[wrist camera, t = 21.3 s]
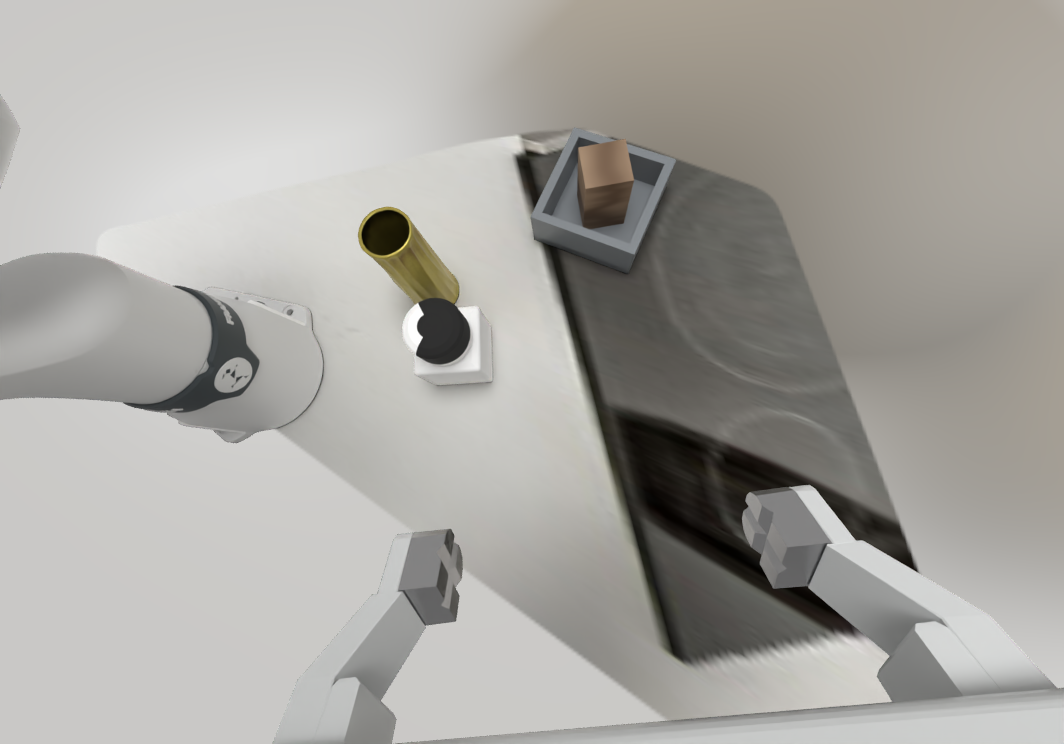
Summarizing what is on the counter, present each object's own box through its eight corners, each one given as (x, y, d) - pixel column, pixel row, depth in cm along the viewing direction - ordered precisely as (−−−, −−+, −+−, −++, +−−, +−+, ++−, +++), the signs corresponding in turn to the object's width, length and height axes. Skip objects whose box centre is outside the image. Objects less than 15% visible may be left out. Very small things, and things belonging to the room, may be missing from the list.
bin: (534, 239, 50) (530, 217, 45) (573, 157, 52) (574, 127, 47) (627, 274, 48) (634, 254, 43) (665, 187, 50) (676, 159, 45)
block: (583, 230, 49) (585, 188, 41) (577, 194, 50) (578, 147, 42) (623, 223, 49) (634, 180, 41) (616, 187, 50) (625, 138, 42)
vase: (423, 263, 51) (369, 194, 37) (466, 277, 50) (427, 211, 36) (405, 306, 50) (342, 252, 36) (448, 321, 49) (401, 270, 35)
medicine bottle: (491, 325, 49) (466, 286, 37) (493, 382, 47) (468, 360, 36) (435, 329, 49) (393, 292, 38) (435, 385, 48) (391, 365, 36)
